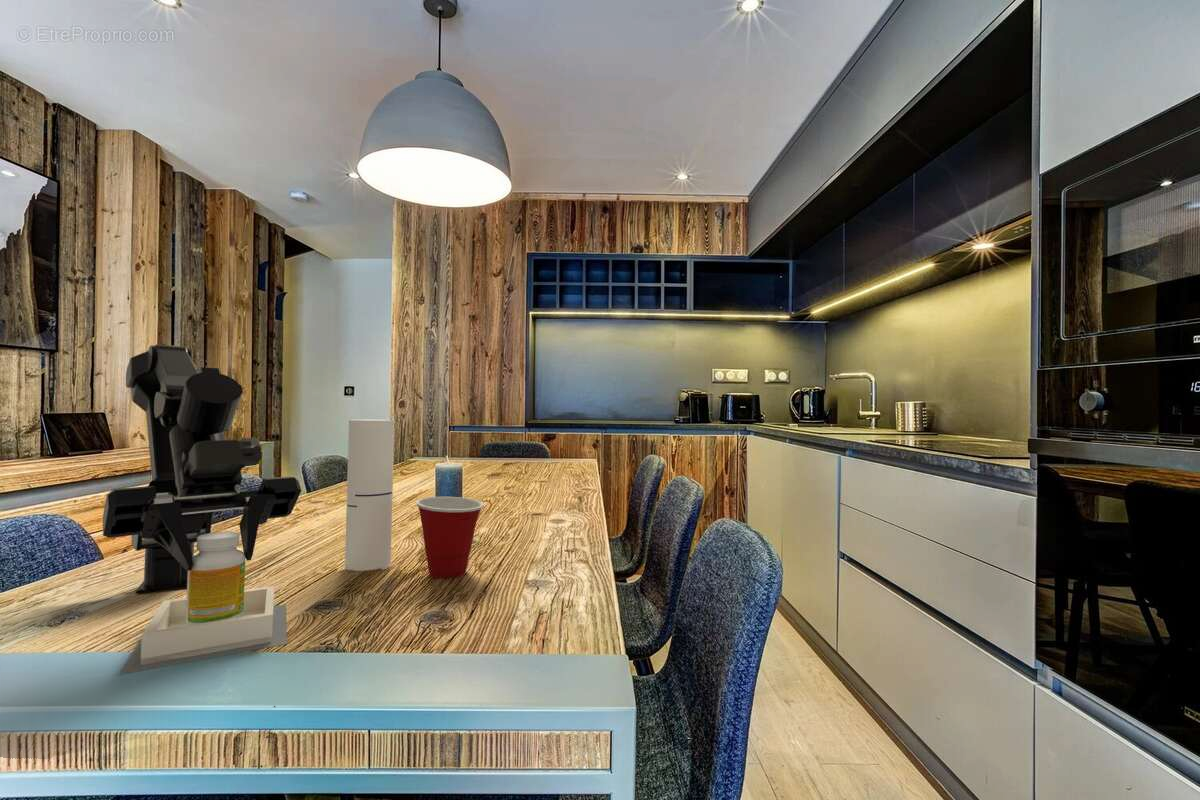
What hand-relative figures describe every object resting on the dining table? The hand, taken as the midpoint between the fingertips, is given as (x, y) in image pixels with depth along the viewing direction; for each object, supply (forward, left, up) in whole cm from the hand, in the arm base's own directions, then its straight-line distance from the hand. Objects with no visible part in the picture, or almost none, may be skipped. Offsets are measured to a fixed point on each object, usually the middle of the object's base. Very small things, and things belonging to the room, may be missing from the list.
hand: (220, 563), depth 60 cm
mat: (-1, 0, -9) cm, 9 cm away
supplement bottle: (-1, 0, -7) cm, 7 cm away
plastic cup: (-13, +30, -9) cm, 34 cm away
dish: (-1, 0, -8) cm, 8 cm away
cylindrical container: (-23, +19, -9) cm, 31 cm away
